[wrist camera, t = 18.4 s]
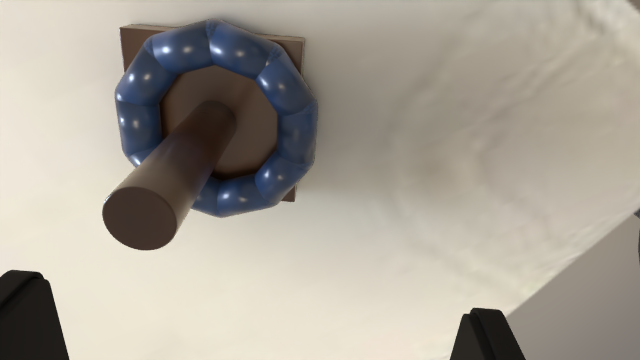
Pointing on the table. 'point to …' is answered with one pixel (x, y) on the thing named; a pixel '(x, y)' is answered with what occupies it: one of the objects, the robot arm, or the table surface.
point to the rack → (193, 144)
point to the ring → (239, 57)
